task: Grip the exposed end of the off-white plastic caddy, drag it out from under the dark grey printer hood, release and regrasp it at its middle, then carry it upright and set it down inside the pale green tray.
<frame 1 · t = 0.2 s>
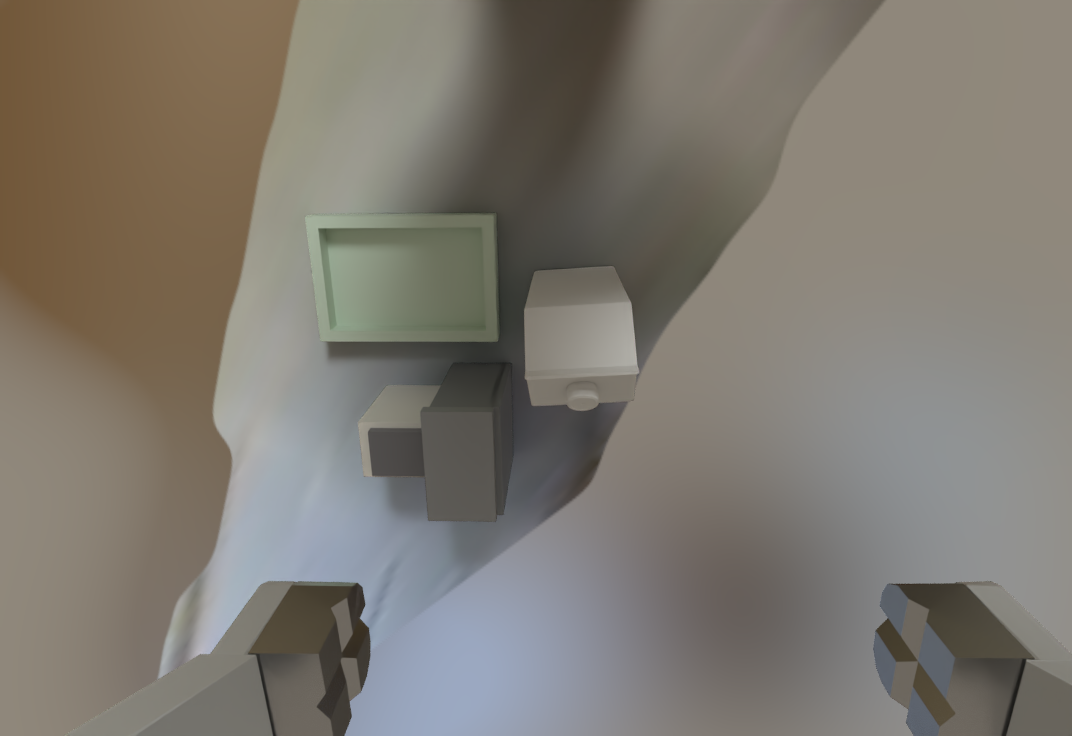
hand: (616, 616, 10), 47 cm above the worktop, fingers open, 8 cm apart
tray: (409, 275, 56), on the worktop
hood: (481, 410, 60), on the worktop
milk carton: (575, 306, 57), on the worktop
caddy: (440, 409, 61), on the worktop
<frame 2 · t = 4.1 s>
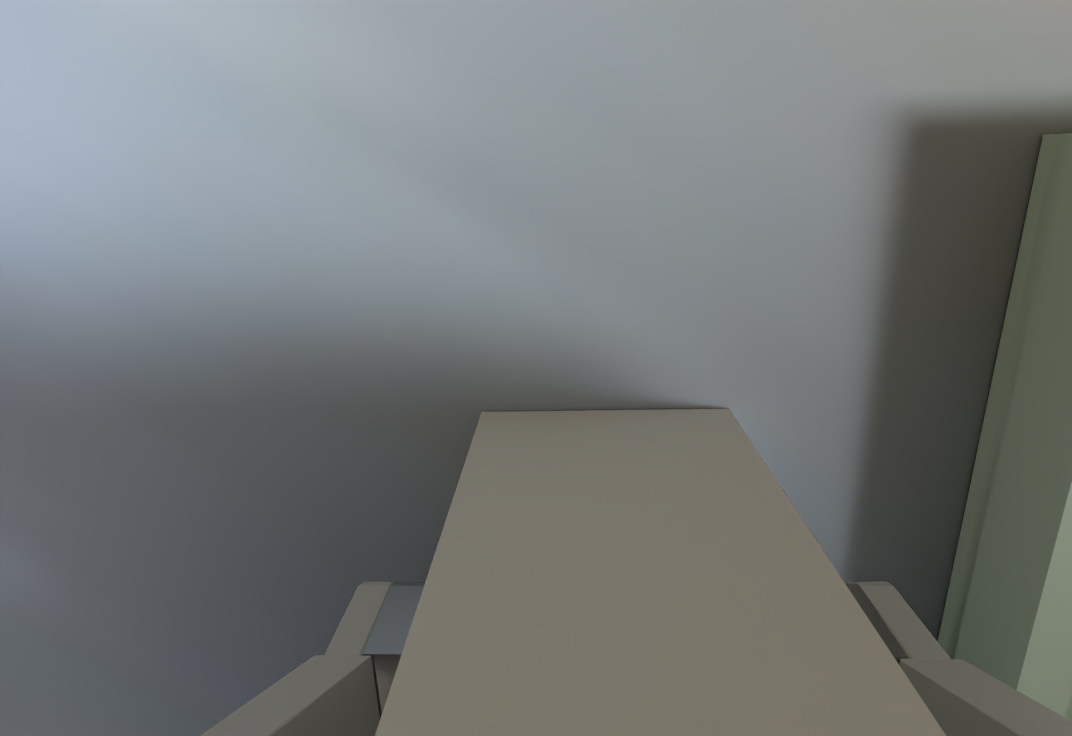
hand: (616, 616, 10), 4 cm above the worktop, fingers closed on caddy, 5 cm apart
caddy: (603, 613, 14), on the worktop, touching gripper
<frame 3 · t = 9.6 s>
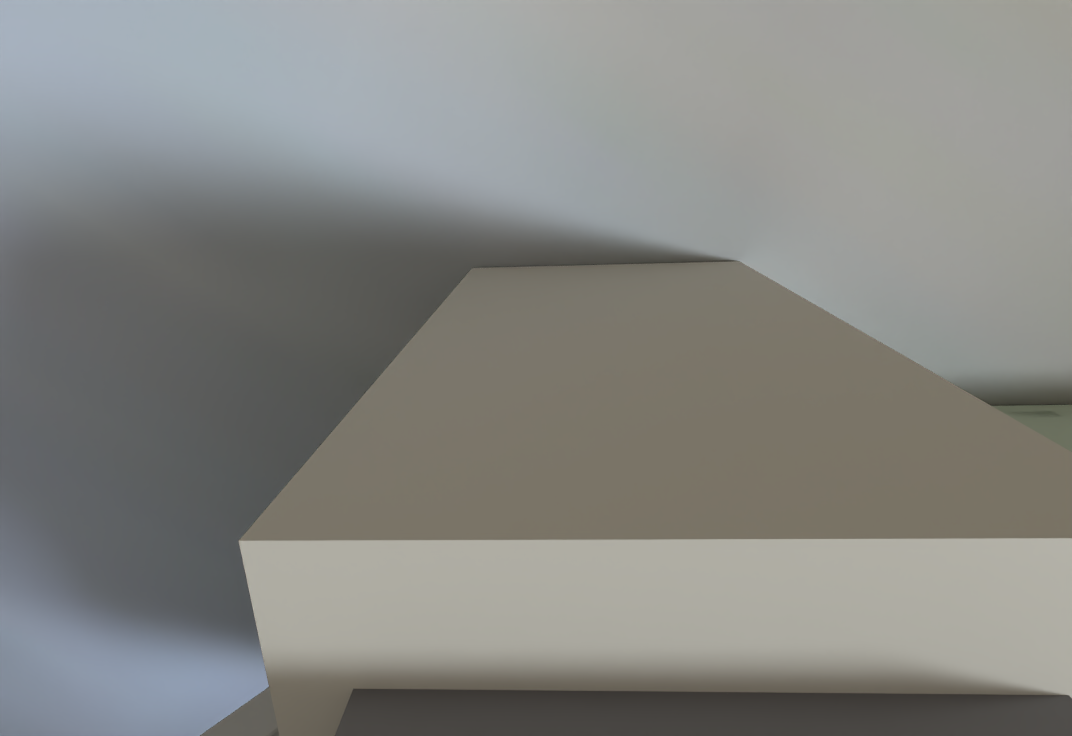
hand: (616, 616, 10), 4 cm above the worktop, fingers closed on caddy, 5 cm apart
caddy: (603, 499, 13), on the worktop, touching gripper
when the fingers open (5 cm above the worktop, at t = 16.5 s): caddy drops 1 cm, resting on tray.
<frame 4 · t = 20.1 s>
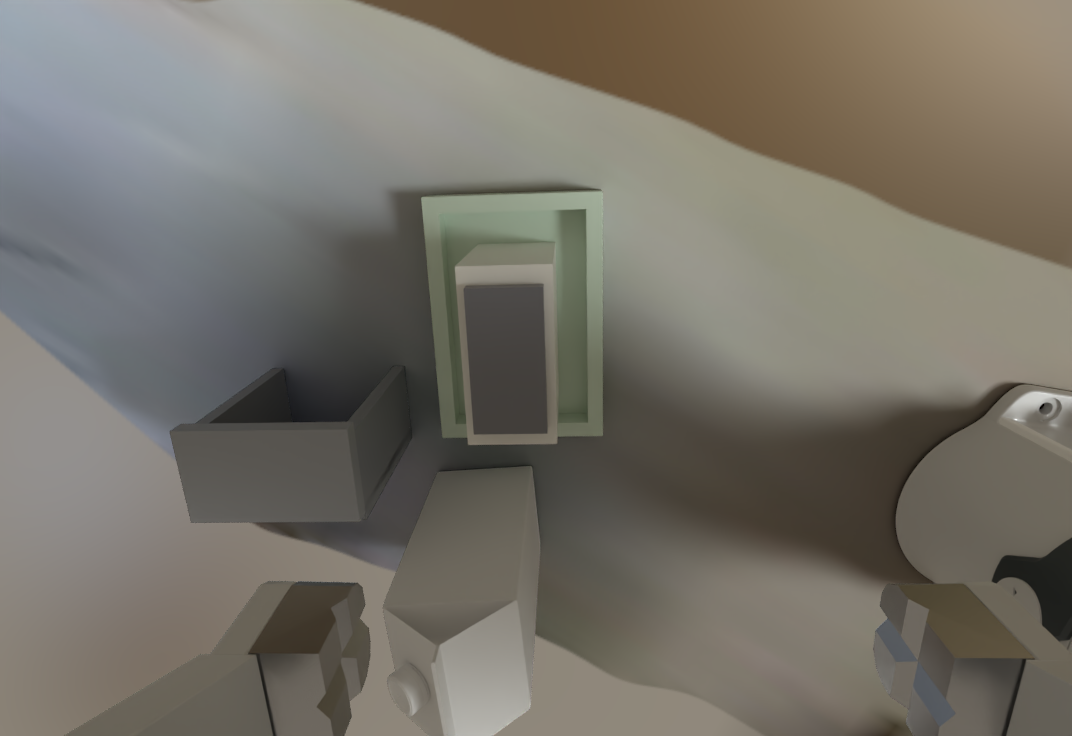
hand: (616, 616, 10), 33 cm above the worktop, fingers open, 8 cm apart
tray: (519, 314, 42), on the worktop
hood: (342, 400, 45), on the worktop
milk carton: (490, 507, 47), on the worktop
caddy: (519, 318, 42), point 1 cm above the worktop, touching tray
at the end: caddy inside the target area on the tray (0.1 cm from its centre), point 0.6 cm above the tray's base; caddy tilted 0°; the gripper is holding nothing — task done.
